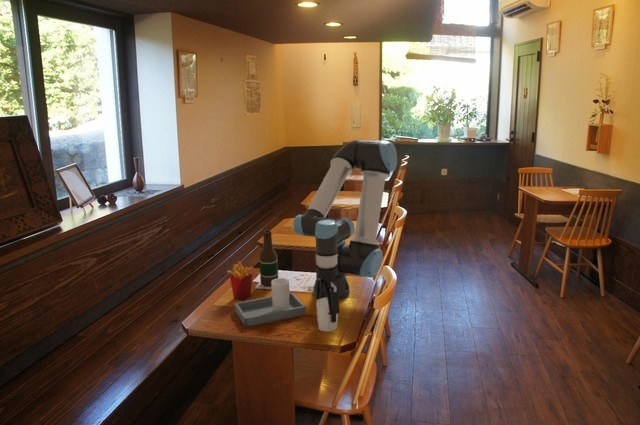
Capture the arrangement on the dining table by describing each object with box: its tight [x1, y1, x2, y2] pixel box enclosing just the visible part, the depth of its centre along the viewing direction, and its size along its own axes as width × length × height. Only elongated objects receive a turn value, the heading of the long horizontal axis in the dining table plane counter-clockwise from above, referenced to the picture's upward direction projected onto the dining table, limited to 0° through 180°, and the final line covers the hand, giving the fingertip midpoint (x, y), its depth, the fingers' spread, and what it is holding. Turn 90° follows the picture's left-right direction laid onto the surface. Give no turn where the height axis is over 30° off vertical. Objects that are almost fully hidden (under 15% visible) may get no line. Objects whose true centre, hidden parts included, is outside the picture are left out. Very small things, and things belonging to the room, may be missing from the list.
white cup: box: [315, 297, 339, 333], centre depth 187 cm, size 8×8×10 cm
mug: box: [270, 277, 290, 312], centre depth 200 cm, size 10×7×12 cm, turn 158°
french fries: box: [227, 261, 253, 302], centre depth 212 cm, size 9×8×15 cm
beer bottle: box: [259, 229, 279, 288], centre depth 225 cm, size 8×8×24 cm
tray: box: [234, 292, 307, 328], centre depth 199 cm, size 24×15×4 cm, turn 114°
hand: (327, 324), depth 188 cm, fingers closed on white cup, 8 cm apart
